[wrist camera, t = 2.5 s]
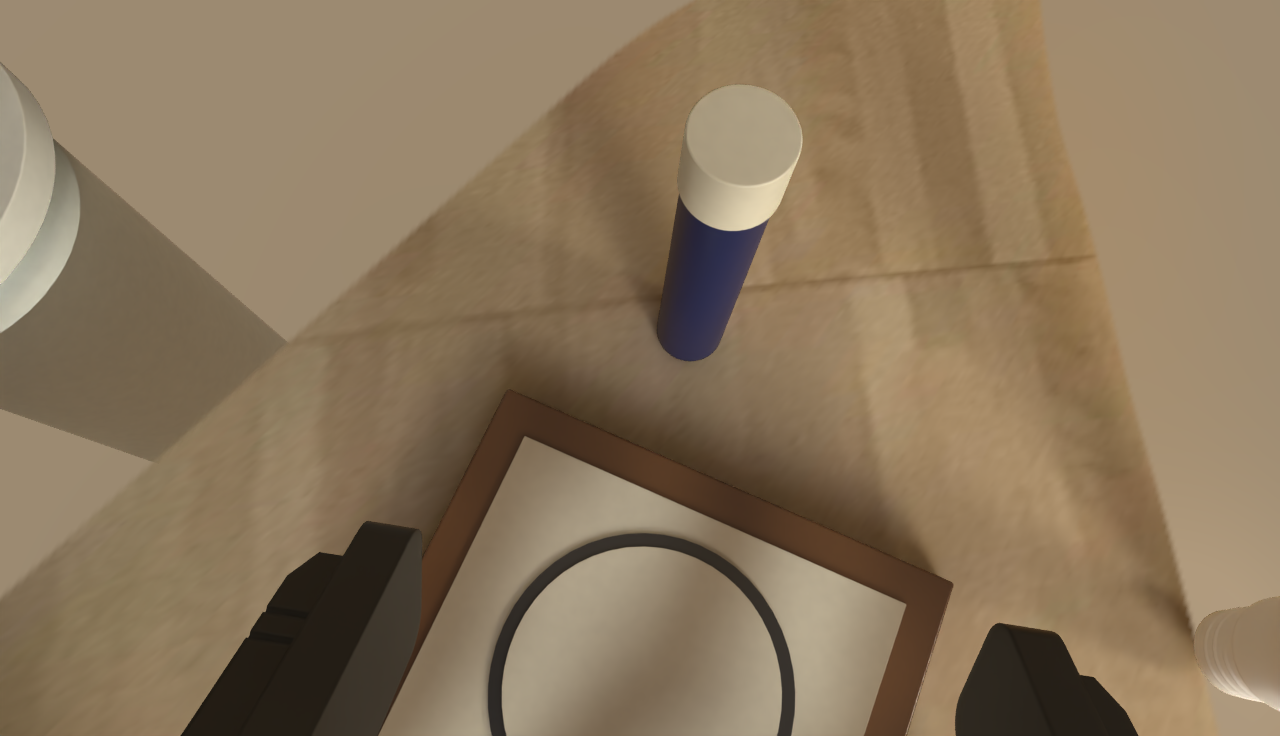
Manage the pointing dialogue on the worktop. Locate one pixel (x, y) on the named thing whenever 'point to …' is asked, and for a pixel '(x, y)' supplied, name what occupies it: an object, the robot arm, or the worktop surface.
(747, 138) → the cylinder
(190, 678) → the worktop surface
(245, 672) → the robot arm
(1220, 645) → the lightbulb
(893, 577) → the picture frame
